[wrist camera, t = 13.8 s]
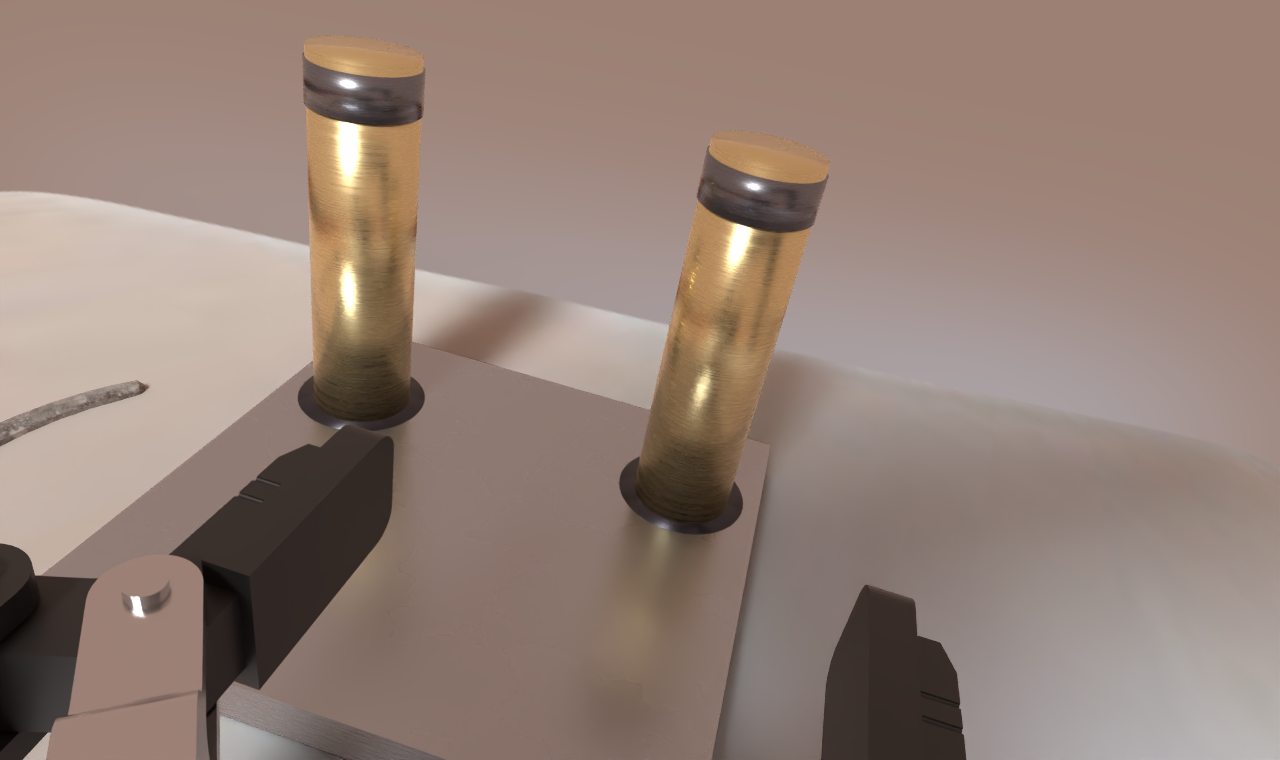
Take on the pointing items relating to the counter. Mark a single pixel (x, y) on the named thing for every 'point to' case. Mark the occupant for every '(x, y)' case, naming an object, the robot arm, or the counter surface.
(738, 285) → the loose brass leg
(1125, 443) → the counter surface
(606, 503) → the flange plate
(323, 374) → the fixed brass leg
